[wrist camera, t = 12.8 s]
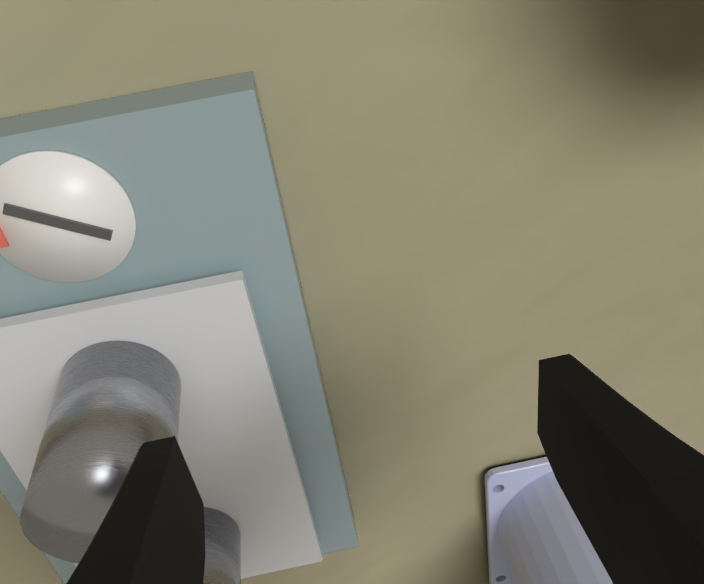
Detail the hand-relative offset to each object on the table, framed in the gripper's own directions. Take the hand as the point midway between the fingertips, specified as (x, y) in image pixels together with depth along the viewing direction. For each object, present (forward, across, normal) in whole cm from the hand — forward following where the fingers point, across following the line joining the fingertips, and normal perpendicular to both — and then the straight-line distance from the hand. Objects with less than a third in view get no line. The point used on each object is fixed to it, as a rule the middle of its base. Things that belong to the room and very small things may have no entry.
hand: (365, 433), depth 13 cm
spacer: (+7, +7, +3) cm, 11 cm away
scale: (+10, +7, +6) cm, 13 cm away
